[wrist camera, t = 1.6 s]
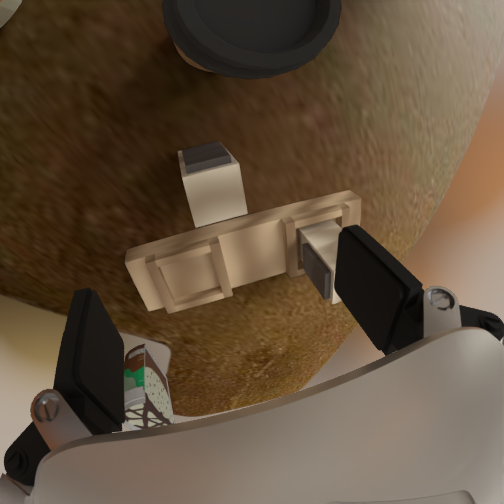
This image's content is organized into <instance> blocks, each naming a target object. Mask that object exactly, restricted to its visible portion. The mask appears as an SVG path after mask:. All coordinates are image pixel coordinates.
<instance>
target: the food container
mask: <svg viewBox="0 0 504 504" xmlns="http://www.w3.org/2000/svg"><path fill="white" fill-rule="evenodd" d="M124 402H125V422H124V423H123V424H124V425H125V426H126V427H128V428H129V429H131V430H140V429H147V428H153V427H159V426H166V425H171V424H176V423H175V422H174V416H173V411H172V405H171V400H170V394H169V388H168V381H167V377H166V376H165V374H164V373H163V371H162V370H161V368H160V367H159V366H158V364H157V362H156V361H155V359H154V358H153V356H152V355H151V353H150V352H149V350H148V348H147V347H146V345H145V344H142V345H139V346H137V347H135V348H133V349H131V350H130V351H129V352H128V353H127V355H126V357H125V361H124Z"/></svg>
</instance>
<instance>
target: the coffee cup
mask: <svg viewBox="0 0 504 504" xmlns="http://www.w3.org/2000/svg"><path fill="white" fill-rule="evenodd" d="M162 8H163V16H164V24H165V26H166V28H167V30H168V32H169V34H170V36H171V38H172V41H173V42H174V44H175V47H176V49H177V51H178V53H179V54H180V56H181V57H182V58H183V59H184V60H185V61H186V62H187V63H189V64H190V65H192V66H193V67H195V68H198V69H201V70H204V71H209V72H215V73H218V74H221V75H223V76H226V77H234V78H242V79H258V78H270V77H273V76H276V75H279V74H282V73H285V72H288V71H291V70H295V69H298V68H299V67H301V66H302V65H304V64H306V63H307V62H309V61H310V60H312V59H314V58H315V57H316V55H317V54H318V53H319V52H320V51H321V50H322V49H323V48H324V47H325V46H326V44H327V43H328V41H329V40H330V39H331V38H332V36H333V34H334V32H335V30H336V28H337V26H338V24H339V19H340V12H341V1H340V0H163V3H162Z"/></svg>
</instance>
